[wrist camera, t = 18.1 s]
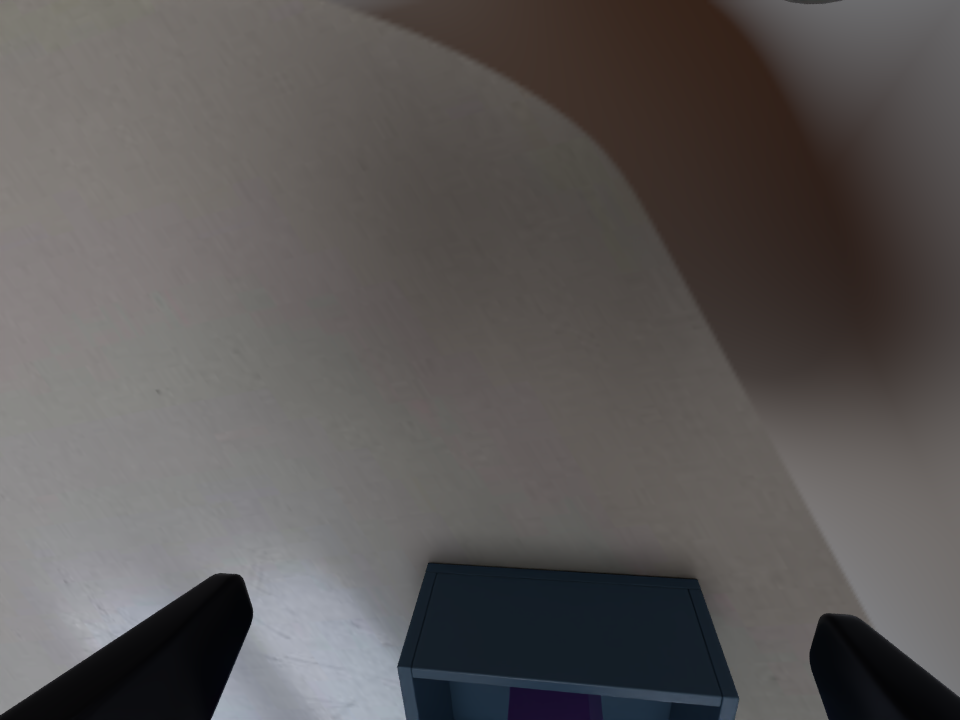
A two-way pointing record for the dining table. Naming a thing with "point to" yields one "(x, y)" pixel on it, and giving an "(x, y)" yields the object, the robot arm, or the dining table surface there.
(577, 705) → the purple white-banded prism
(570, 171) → the dining table surface
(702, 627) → the open blue box
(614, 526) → the dining table surface
